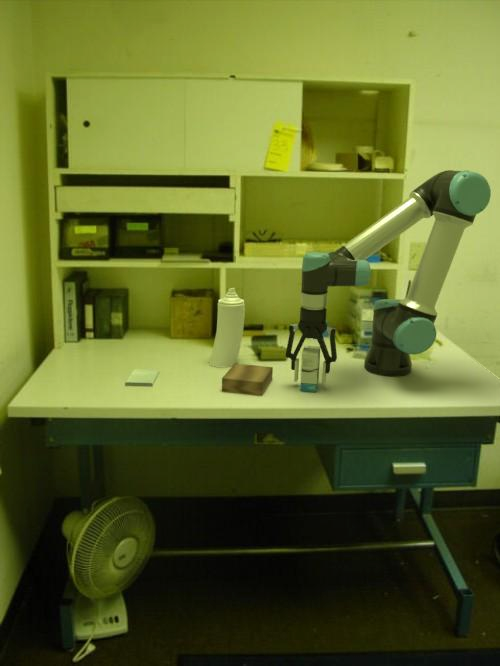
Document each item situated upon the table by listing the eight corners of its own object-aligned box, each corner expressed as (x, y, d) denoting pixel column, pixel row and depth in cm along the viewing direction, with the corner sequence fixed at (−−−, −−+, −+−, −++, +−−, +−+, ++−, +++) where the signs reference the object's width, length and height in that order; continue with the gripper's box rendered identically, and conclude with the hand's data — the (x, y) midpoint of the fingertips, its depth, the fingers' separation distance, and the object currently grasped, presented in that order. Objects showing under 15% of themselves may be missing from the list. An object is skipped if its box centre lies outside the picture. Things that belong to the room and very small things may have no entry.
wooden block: (272, 379, 189) (272, 367, 188) (262, 395, 176) (262, 382, 175) (234, 375, 192) (234, 363, 190) (221, 391, 178) (222, 378, 177)
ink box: (316, 392, 179) (318, 354, 176) (299, 391, 180) (301, 352, 177) (319, 382, 187) (321, 345, 184) (303, 381, 188) (304, 344, 185)
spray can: (217, 355, 211) (217, 283, 204) (247, 358, 208) (248, 286, 201) (205, 365, 200) (205, 290, 193) (237, 369, 197) (238, 293, 191)
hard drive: (152, 383, 181) (159, 369, 193) (124, 382, 181) (133, 368, 193) (152, 388, 181) (159, 374, 193) (125, 387, 181) (133, 373, 193)
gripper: (350, 306, 178) (345, 381, 184) (281, 301, 183) (278, 374, 189) (348, 312, 171) (343, 389, 177) (276, 307, 176) (273, 382, 182)
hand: (309, 381), depth 183 cm, fingers open, 8 cm apart
